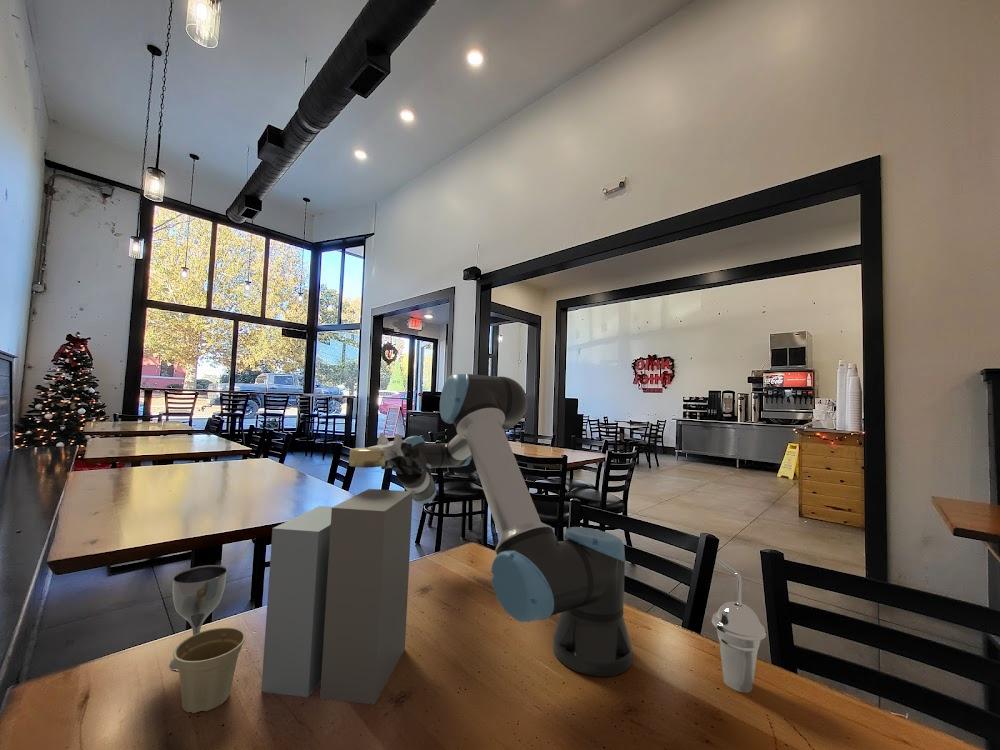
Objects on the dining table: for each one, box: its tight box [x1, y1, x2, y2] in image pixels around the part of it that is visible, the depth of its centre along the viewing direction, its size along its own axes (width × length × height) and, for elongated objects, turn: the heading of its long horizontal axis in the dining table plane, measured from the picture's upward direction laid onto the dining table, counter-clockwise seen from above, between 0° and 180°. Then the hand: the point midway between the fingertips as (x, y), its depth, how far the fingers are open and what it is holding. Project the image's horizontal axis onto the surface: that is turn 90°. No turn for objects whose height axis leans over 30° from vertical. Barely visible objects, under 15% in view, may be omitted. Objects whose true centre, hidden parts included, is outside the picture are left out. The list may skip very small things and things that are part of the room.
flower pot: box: [172, 626, 247, 714], centre depth 67 cm, size 9×9×9 cm
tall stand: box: [319, 488, 414, 705], centre depth 76 cm, size 9×15×30 cm, turn 174°
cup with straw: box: [711, 558, 767, 693], centre depth 76 cm, size 8×9×20 cm
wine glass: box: [168, 564, 228, 670], centre depth 77 cm, size 8×8×15 cm
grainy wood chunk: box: [348, 440, 407, 469], centre depth 94 cm, size 7×23×3 cm, turn 174°
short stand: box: [260, 505, 333, 698], centre depth 76 cm, size 8×15×26 cm, turn 174°
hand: (388, 438), depth 97 cm, fingers closed on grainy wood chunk, 3 cm apart
